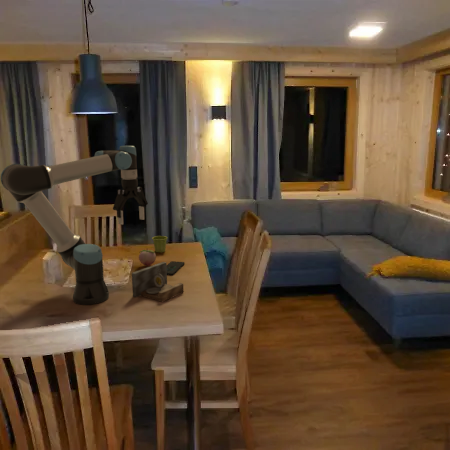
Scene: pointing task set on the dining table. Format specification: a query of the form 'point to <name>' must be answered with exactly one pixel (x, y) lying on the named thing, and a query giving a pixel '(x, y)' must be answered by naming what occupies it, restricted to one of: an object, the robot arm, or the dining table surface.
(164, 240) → the plant pot
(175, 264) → the smart home device
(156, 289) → the pocket watch
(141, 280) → the display stand
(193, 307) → the dining table surface
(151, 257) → the decorative fruit
